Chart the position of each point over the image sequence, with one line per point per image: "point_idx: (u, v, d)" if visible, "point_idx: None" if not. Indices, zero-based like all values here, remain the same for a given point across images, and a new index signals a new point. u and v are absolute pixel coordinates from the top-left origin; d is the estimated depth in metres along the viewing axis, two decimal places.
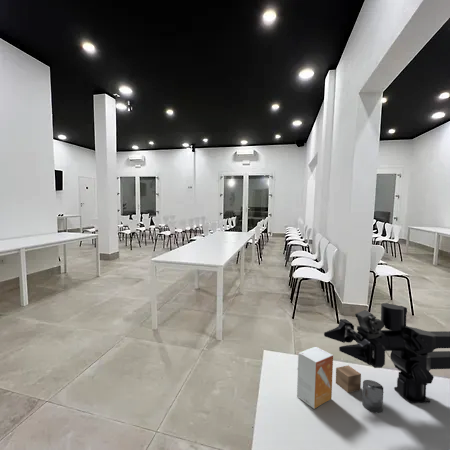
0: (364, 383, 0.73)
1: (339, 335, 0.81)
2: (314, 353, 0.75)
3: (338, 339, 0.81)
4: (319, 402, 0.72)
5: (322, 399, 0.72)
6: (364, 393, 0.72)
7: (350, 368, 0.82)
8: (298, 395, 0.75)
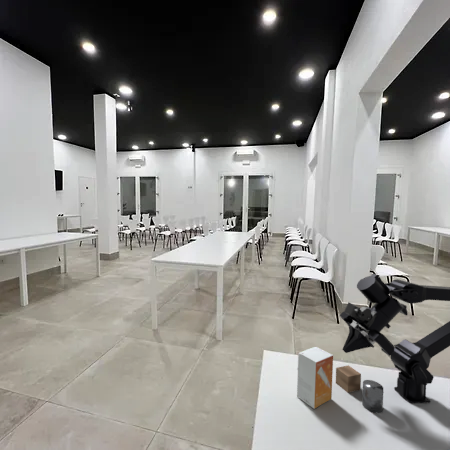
0: (364, 383, 0.73)
1: None
2: (314, 353, 0.75)
3: None
4: (319, 402, 0.72)
5: (322, 399, 0.72)
6: (364, 393, 0.72)
7: (350, 368, 0.82)
8: (298, 395, 0.75)
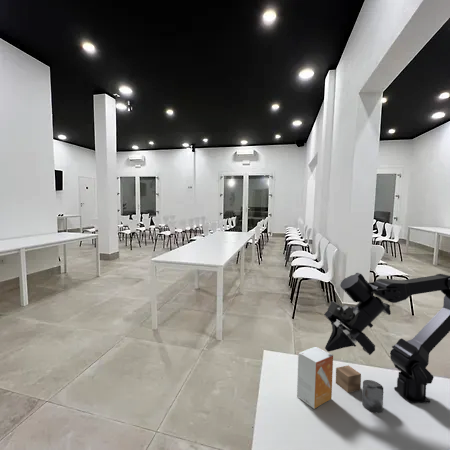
0: (364, 383, 0.73)
1: None
2: (314, 353, 0.75)
3: None
4: (319, 402, 0.72)
5: (322, 399, 0.72)
6: (364, 393, 0.72)
7: (350, 368, 0.82)
8: (298, 395, 0.75)
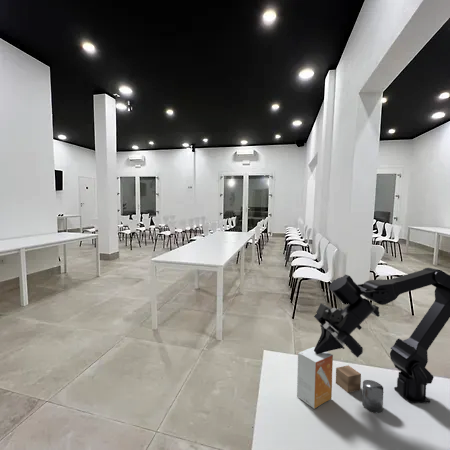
0: (364, 383, 0.73)
1: None
2: (313, 353, 0.75)
3: None
4: (319, 402, 0.72)
5: (322, 399, 0.72)
6: (364, 393, 0.72)
7: (350, 368, 0.82)
8: (298, 395, 0.75)
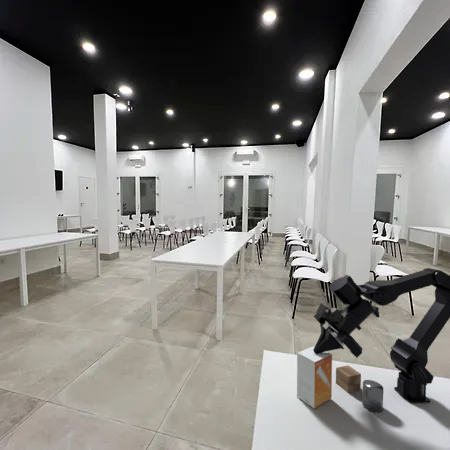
0: (364, 383, 0.73)
1: None
2: (313, 352, 0.75)
3: None
4: (318, 401, 0.72)
5: (322, 398, 0.72)
6: (364, 393, 0.72)
7: (350, 368, 0.82)
8: (298, 395, 0.75)
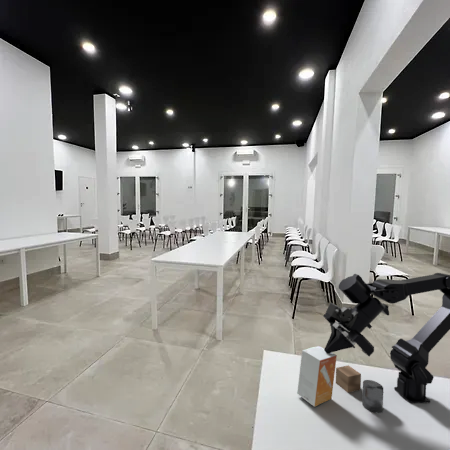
0: (364, 383, 0.73)
1: None
2: (317, 351, 0.75)
3: None
4: (319, 400, 0.72)
5: (322, 398, 0.72)
6: (364, 393, 0.72)
7: (350, 368, 0.82)
8: (298, 392, 0.75)
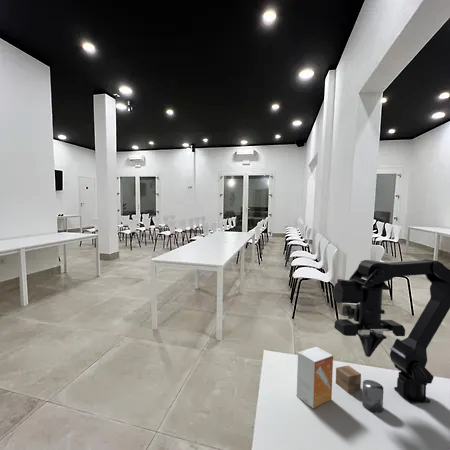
0: (364, 383, 0.73)
1: None
2: (314, 353, 0.75)
3: (373, 343, 0.75)
4: (318, 402, 0.72)
5: (321, 399, 0.72)
6: (364, 393, 0.72)
7: (350, 368, 0.82)
8: (298, 394, 0.75)
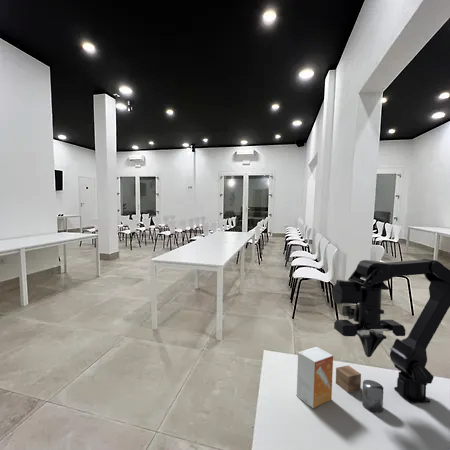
0: (364, 383, 0.73)
1: None
2: (314, 353, 0.75)
3: (373, 343, 0.75)
4: (318, 402, 0.72)
5: (321, 399, 0.72)
6: (364, 393, 0.72)
7: (350, 368, 0.82)
8: (298, 394, 0.75)
